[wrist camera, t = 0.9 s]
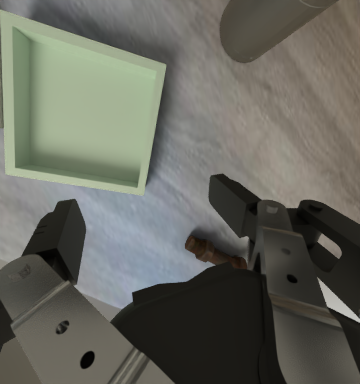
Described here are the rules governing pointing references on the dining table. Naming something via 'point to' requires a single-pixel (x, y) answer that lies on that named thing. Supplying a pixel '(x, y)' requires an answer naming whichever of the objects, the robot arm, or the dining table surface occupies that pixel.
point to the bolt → (212, 253)
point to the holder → (0, 111)
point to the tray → (76, 108)
